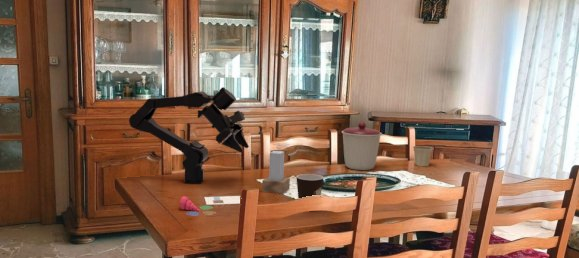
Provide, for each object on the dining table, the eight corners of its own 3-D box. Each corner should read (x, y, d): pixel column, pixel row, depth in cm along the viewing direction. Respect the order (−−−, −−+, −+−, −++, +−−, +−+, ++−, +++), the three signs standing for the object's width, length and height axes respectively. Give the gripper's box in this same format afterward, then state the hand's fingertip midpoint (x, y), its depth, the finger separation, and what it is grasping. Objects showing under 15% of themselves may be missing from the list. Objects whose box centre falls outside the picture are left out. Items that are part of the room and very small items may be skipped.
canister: (351, 162, 237) (353, 118, 234) (386, 168, 226) (389, 122, 224) (332, 168, 222) (334, 121, 220) (368, 174, 212) (371, 125, 209)
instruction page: (206, 205, 158) (206, 204, 158) (204, 197, 167) (204, 196, 167) (243, 203, 161) (243, 203, 161) (239, 196, 170) (239, 195, 169)
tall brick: (269, 180, 177) (269, 152, 176) (273, 177, 182) (273, 150, 181) (279, 181, 176) (280, 153, 175) (283, 178, 181) (284, 151, 180)
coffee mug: (303, 212, 153) (304, 181, 152) (290, 205, 161) (291, 175, 160) (335, 208, 159) (336, 178, 157) (321, 201, 166) (322, 172, 165)
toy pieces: (175, 217, 146) (175, 202, 145) (181, 206, 157) (181, 192, 156) (215, 217, 146) (216, 203, 146) (219, 206, 157) (219, 193, 157)
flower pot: (434, 167, 231) (435, 149, 230) (414, 167, 231) (415, 148, 230) (429, 163, 240) (430, 146, 239) (409, 163, 240) (410, 145, 239)
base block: (262, 191, 177) (262, 180, 176) (268, 186, 185) (269, 176, 184) (283, 193, 175) (283, 182, 174) (289, 188, 183) (289, 178, 182)
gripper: (225, 105, 173) (255, 138, 173) (238, 102, 192) (265, 131, 191) (203, 127, 175) (232, 159, 175) (218, 121, 194) (245, 150, 194)
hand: (245, 149), depth 184 cm, fingers open, 9 cm apart
